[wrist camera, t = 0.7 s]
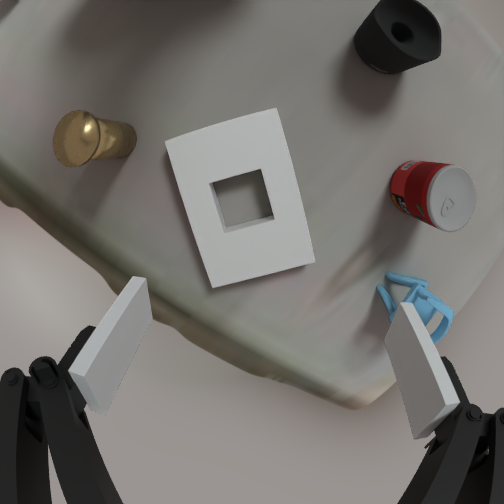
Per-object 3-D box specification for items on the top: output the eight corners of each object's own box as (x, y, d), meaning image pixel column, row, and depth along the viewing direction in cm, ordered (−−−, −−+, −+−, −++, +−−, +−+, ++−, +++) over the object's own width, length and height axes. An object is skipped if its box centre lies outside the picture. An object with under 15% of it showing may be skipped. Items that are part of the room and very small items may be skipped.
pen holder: (337, 35, 30) (360, 5, 21) (381, 14, 29) (410, -13, 19) (378, 87, 33) (413, 72, 23) (419, 63, 31) (456, 47, 21)
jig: (171, 142, 36) (164, 141, 33) (274, 111, 34) (276, 107, 32) (215, 278, 42) (212, 288, 39) (311, 254, 40) (315, 261, 38)
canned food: (381, 202, 38) (420, 219, 28) (398, 150, 36) (442, 152, 25) (420, 220, 39) (462, 242, 28) (437, 173, 36) (483, 182, 26)
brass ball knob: (98, 129, 35) (48, 125, 23) (134, 113, 34) (90, 100, 23) (108, 167, 37) (60, 175, 25) (144, 152, 36) (102, 153, 25)
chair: (395, 258, 41) (434, 292, 29) (427, 282, 42) (466, 317, 31) (366, 299, 43) (396, 342, 31) (400, 318, 44) (431, 360, 33)
